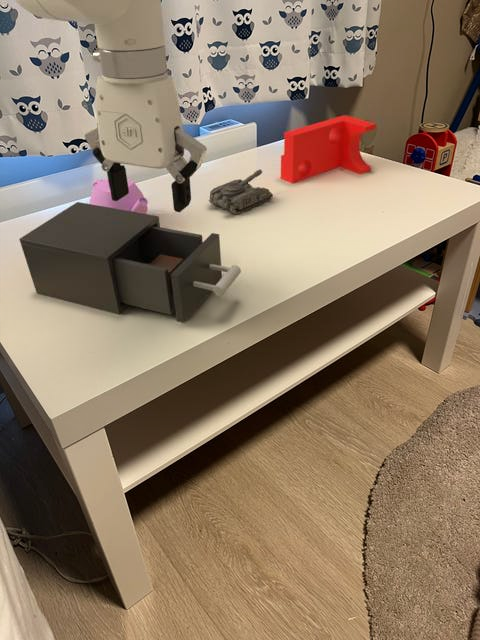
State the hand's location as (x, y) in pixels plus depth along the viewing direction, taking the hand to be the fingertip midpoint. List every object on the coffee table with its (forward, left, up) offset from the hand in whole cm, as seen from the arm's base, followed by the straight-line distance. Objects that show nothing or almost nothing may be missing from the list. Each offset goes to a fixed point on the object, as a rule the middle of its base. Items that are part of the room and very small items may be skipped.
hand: (150, 202), depth 71 cm
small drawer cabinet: (+1, +12, -16) cm, 20 cm away
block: (+1, -1, -14) cm, 14 cm away
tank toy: (+36, +3, -16) cm, 39 cm away
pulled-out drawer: (+1, -2, -15) cm, 15 cm away
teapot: (+19, +20, -16) cm, 31 cm away
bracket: (+56, -9, -16) cm, 58 cm away
